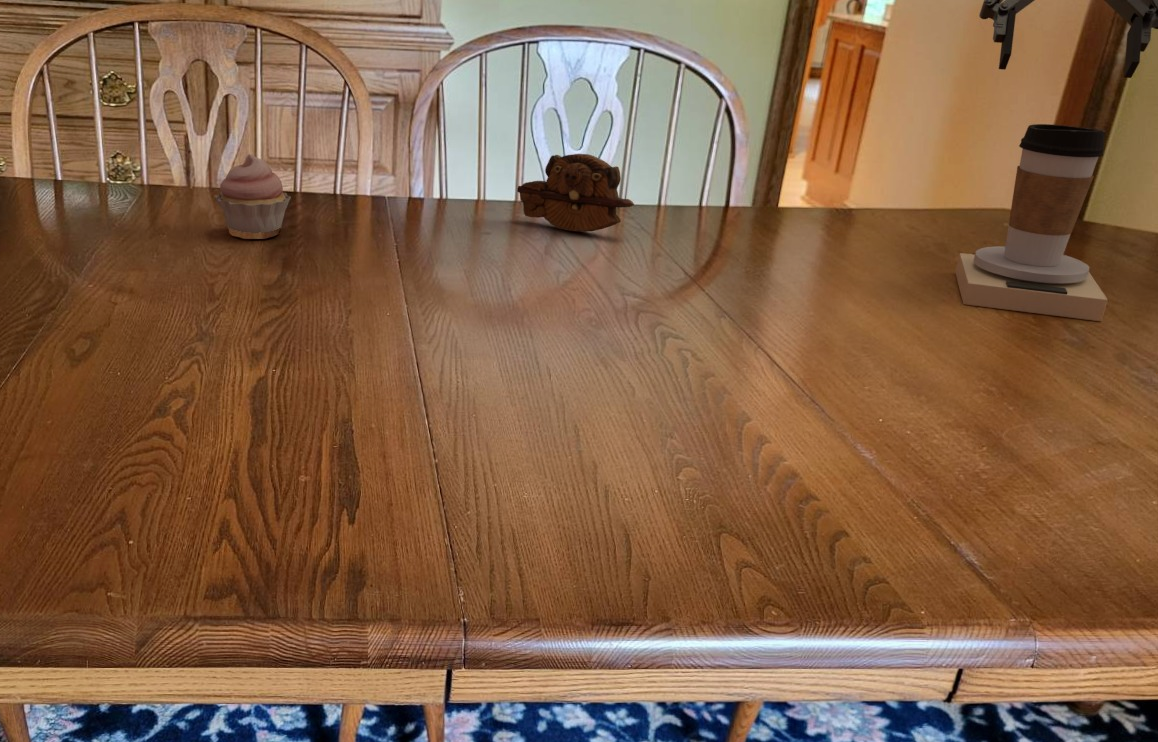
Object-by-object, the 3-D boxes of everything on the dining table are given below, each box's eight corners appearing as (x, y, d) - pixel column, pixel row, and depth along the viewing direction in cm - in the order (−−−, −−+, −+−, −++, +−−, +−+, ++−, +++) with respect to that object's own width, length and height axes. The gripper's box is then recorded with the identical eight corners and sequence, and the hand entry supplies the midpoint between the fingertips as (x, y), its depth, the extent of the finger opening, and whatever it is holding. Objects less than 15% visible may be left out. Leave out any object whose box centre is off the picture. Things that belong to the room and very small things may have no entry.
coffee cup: (1025, 271, 122) (1062, 132, 115) (976, 250, 129) (1008, 119, 123) (1089, 268, 124) (1128, 132, 117) (1037, 249, 131) (1071, 119, 125)
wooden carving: (508, 224, 149) (513, 149, 144) (523, 218, 152) (528, 144, 148) (622, 244, 141) (630, 165, 137) (635, 237, 145) (643, 160, 141)
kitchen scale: (1080, 287, 131) (1089, 254, 130) (1101, 321, 119) (1112, 286, 118) (954, 272, 135) (962, 240, 134) (963, 304, 123) (971, 269, 122)
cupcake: (203, 230, 139) (198, 150, 135) (269, 222, 145) (267, 144, 140) (237, 247, 133) (233, 163, 128) (305, 238, 138) (303, 157, 134)
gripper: (1181, -46, 136) (1173, 95, 129) (965, -54, 143) (947, 79, 136) (1207, -95, 129) (1200, 51, 123) (979, -101, 136) (960, 36, 129)
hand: (1067, 66), depth 129 cm, fingers open, 13 cm apart
